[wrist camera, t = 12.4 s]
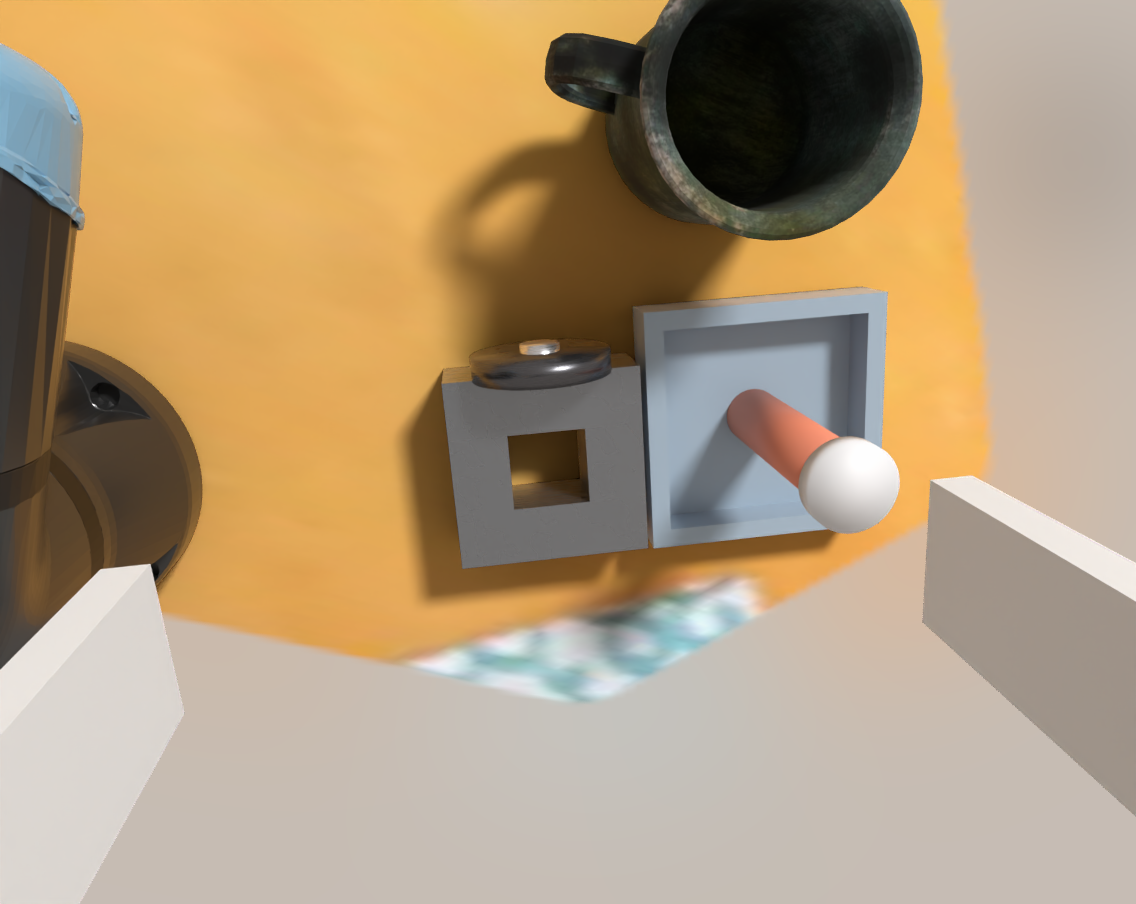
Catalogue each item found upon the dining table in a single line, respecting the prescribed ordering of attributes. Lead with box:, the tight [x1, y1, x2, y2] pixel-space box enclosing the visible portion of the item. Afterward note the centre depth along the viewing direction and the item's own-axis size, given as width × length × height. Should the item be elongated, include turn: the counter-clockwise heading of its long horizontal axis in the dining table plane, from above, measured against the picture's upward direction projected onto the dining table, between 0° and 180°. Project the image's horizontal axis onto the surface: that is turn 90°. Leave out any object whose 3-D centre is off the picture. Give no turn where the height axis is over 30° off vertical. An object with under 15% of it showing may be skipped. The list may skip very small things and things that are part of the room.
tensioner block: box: [441, 339, 648, 569], centre depth 44 cm, size 10×12×8 cm
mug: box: [545, 0, 923, 241], centre depth 38 cm, size 11×15×12 cm
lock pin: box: [727, 389, 900, 534], centre depth 42 cm, size 4×4×13 cm
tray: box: [632, 287, 888, 548], centre depth 47 cm, size 13×13×3 cm
